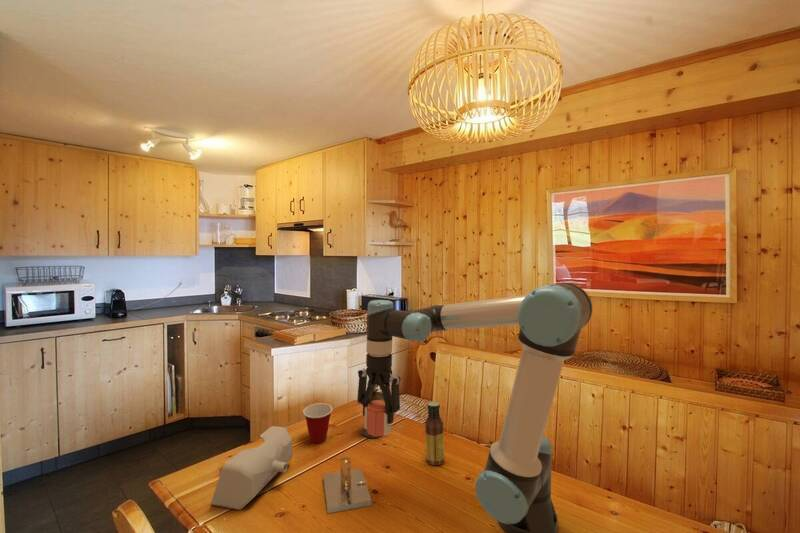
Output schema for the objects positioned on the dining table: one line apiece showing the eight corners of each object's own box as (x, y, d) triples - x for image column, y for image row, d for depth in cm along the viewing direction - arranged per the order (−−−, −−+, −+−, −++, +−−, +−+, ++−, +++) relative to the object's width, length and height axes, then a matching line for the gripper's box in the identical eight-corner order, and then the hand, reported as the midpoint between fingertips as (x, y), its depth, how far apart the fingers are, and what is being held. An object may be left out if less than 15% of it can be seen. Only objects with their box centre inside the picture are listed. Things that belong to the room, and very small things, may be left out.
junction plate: (372, 506, 104) (372, 472, 104) (327, 514, 101) (327, 480, 101) (362, 472, 120) (362, 443, 120) (323, 479, 117) (323, 449, 117)
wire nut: (390, 435, 109) (391, 408, 109) (369, 437, 108) (369, 409, 107) (385, 425, 115) (386, 399, 115) (365, 426, 114) (366, 401, 113)
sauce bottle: (444, 456, 130) (444, 400, 129) (444, 467, 124) (445, 407, 123) (425, 455, 130) (425, 399, 130) (424, 466, 124) (425, 406, 124)
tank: (261, 516, 101) (260, 470, 100) (209, 507, 104) (208, 462, 104) (305, 465, 125) (304, 428, 124) (262, 458, 129) (261, 422, 128)
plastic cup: (298, 446, 136) (298, 414, 136) (309, 432, 147) (309, 402, 147) (327, 448, 135) (327, 415, 134) (336, 434, 146) (336, 403, 145)
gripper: (414, 355, 108) (412, 433, 110) (360, 345, 118) (359, 417, 120) (400, 362, 102) (398, 445, 103) (345, 350, 112) (344, 426, 113)
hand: (377, 430), depth 111 cm, fingers closed on wire nut, 6 cm apart
